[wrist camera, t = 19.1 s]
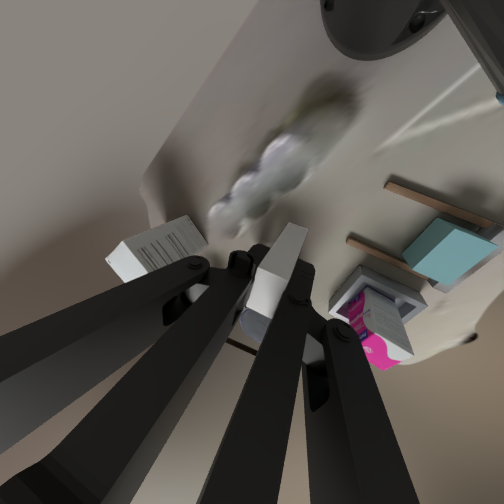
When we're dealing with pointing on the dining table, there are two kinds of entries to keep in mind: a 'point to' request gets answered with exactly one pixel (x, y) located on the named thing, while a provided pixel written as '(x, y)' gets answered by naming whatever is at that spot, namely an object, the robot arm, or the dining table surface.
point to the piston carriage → (446, 251)
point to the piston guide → (489, 229)
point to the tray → (403, 296)
